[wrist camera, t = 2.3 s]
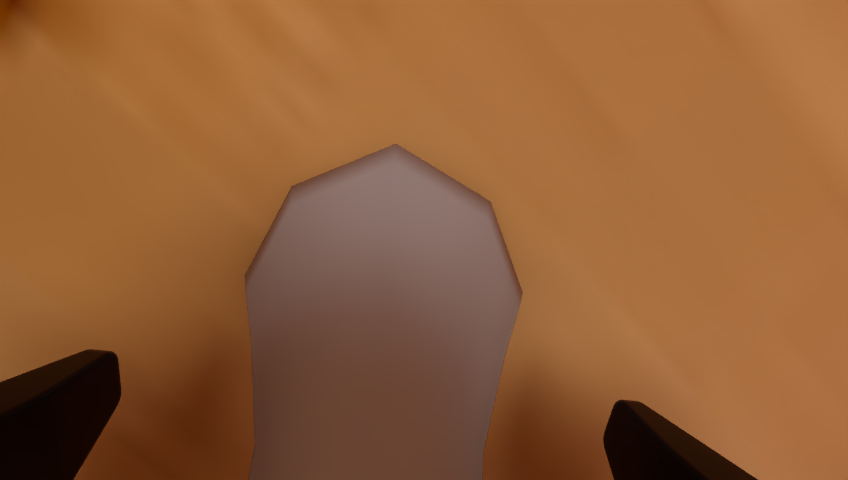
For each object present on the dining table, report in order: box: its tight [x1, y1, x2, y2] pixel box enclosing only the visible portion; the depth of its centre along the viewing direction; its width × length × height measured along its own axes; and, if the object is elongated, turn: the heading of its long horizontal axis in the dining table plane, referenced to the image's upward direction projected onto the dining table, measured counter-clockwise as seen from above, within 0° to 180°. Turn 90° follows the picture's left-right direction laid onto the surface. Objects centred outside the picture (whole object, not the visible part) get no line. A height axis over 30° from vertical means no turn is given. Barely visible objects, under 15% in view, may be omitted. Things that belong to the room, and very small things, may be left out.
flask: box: [245, 144, 523, 480], centre depth 8 cm, size 7×7×10 cm
